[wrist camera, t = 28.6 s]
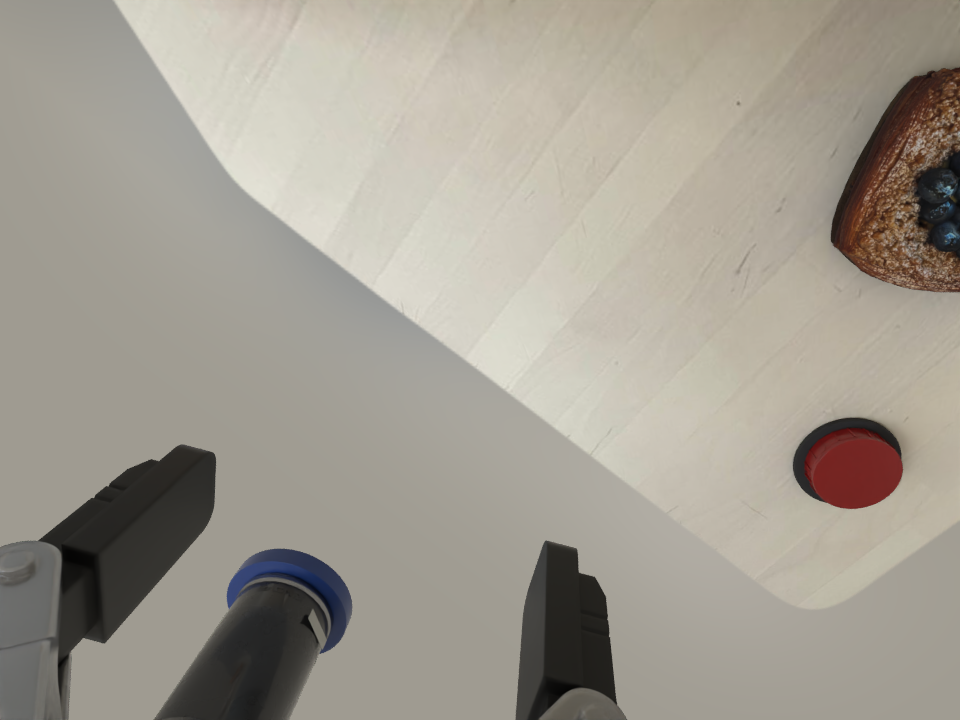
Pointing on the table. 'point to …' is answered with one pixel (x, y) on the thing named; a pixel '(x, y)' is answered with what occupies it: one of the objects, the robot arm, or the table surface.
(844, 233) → the pastry
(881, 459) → the jar lid
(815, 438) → the coaster
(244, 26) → the table surface
